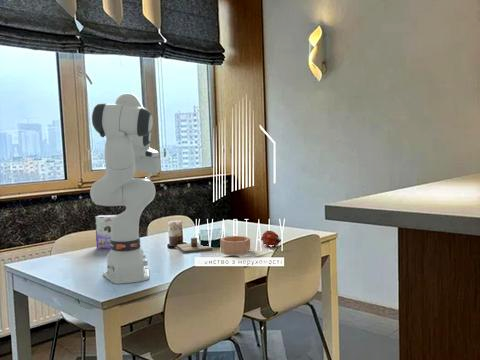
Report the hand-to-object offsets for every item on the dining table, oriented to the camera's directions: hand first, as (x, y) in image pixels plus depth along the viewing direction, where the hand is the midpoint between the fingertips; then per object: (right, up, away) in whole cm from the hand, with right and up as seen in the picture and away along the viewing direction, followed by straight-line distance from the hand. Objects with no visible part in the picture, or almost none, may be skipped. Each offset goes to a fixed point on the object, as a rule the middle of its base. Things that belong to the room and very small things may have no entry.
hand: (138, 179), depth 233 cm
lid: (+26, -34, +8) cm, 43 cm away
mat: (+26, -34, +8) cm, 44 cm away
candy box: (-17, -35, +15) cm, 41 cm away
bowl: (+46, -34, +3) cm, 58 cm away
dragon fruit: (+64, -34, +12) cm, 73 cm away
